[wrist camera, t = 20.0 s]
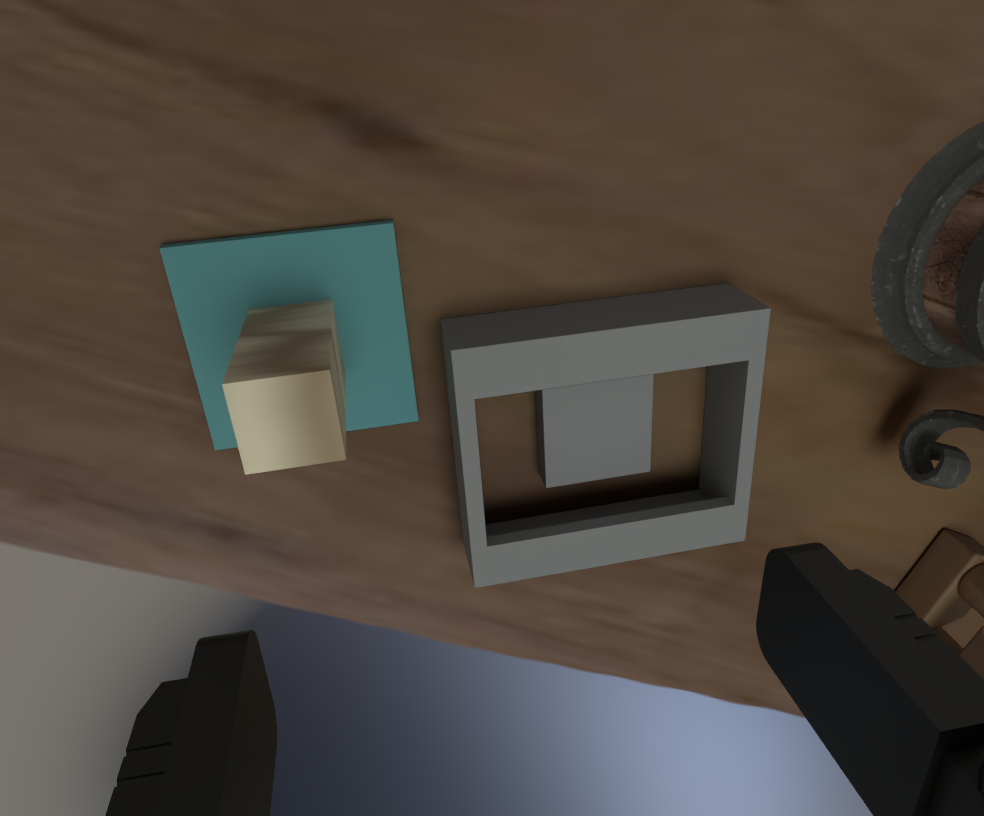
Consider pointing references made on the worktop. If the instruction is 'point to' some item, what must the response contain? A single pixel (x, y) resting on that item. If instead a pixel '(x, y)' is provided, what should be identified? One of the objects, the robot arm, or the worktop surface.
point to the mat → (290, 280)
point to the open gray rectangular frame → (608, 422)
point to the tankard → (936, 292)
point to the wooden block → (949, 590)
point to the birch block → (288, 388)
